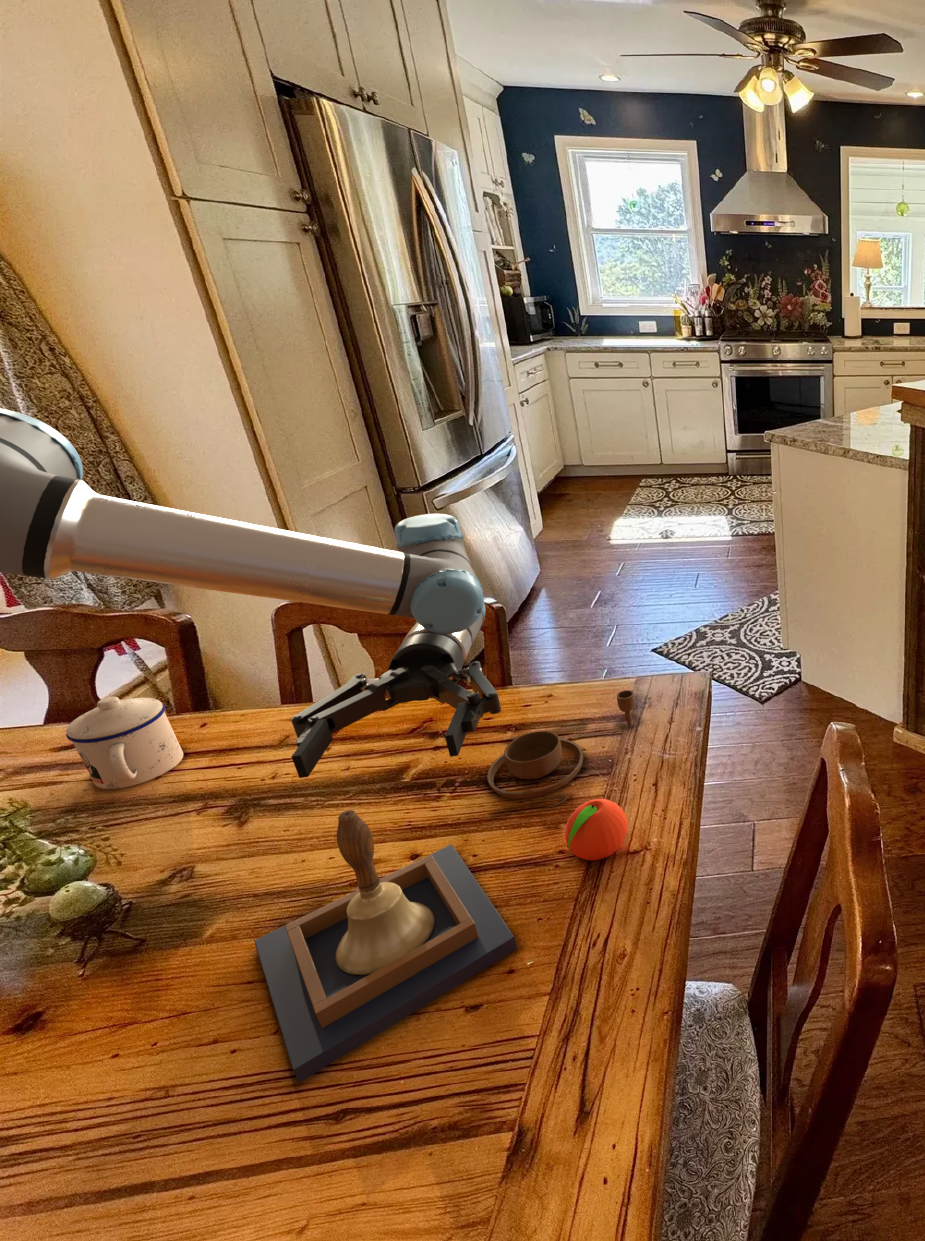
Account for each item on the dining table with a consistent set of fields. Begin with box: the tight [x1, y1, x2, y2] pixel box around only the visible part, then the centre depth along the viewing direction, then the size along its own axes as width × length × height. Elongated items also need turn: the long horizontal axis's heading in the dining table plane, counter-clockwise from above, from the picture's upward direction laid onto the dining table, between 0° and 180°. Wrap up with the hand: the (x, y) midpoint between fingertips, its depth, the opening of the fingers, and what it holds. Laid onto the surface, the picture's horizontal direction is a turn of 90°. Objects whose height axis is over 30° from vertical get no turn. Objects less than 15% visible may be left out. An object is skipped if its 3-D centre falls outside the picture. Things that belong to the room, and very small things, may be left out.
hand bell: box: [336, 809, 435, 975], centre depth 68 cm, size 8×8×16 cm
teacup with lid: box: [65, 696, 184, 790], centre depth 92 cm, size 12×9×12 cm
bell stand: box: [254, 843, 518, 1083], centre depth 71 cm, size 18×18×4 cm
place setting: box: [487, 689, 636, 808], centre depth 98 cm, size 18×20×6 cm
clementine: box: [564, 798, 628, 861], centre depth 84 cm, size 8×7×7 cm
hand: (377, 756), depth 73 cm, fingers open, 13 cm apart
